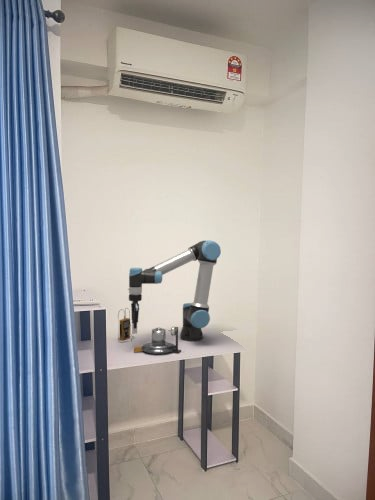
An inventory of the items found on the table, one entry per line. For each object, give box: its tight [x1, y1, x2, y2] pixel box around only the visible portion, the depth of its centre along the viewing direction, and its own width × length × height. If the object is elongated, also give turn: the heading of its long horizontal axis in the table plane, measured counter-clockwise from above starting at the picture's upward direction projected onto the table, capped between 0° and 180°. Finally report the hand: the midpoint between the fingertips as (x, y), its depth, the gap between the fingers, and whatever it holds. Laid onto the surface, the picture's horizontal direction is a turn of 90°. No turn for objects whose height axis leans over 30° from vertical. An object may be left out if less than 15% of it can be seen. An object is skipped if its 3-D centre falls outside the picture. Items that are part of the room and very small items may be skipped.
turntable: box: [133, 341, 176, 355], centre depth 214 cm, size 24×20×2 cm
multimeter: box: [117, 307, 135, 343], centre depth 235 cm, size 15×10×20 cm
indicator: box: [167, 326, 182, 354], centre depth 211 cm, size 7×5×14 cm
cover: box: [149, 327, 168, 350], centre depth 214 cm, size 11×11×11 cm
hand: (134, 333), depth 217 cm, fingers closed
